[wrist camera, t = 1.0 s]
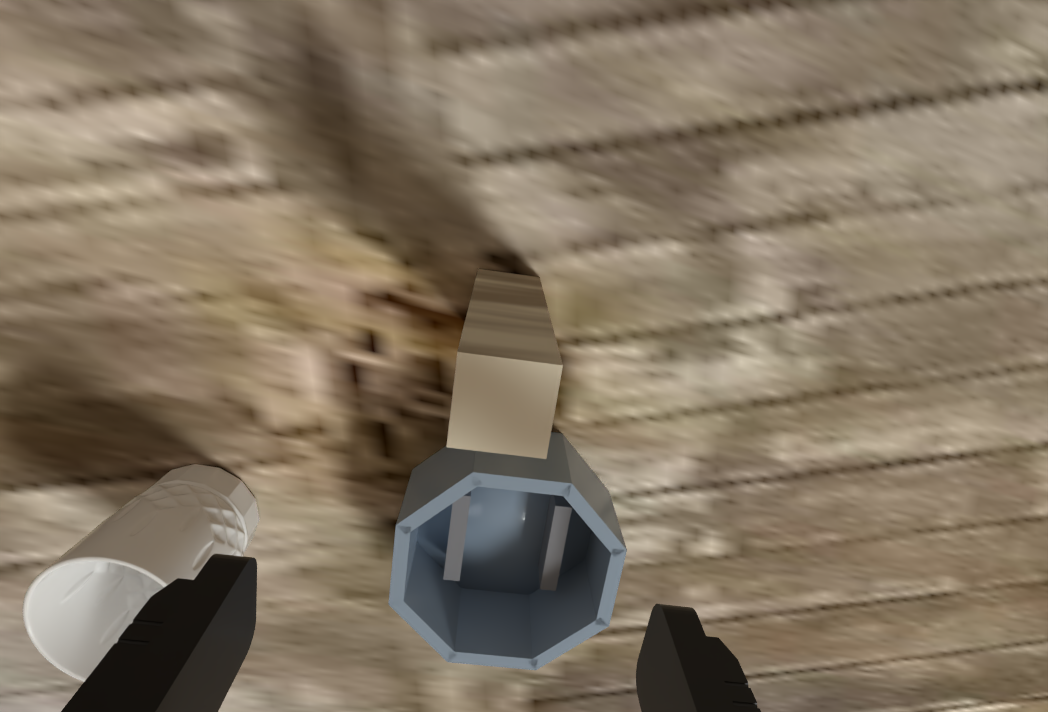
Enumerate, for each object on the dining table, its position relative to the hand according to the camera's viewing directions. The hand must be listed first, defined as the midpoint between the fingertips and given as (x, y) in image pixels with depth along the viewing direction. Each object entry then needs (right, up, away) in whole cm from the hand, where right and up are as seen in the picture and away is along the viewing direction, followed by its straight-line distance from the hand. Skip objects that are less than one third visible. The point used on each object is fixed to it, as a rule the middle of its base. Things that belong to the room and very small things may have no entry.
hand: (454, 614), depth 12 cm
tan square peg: (0, +8, +23) cm, 24 cm away
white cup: (-19, -5, +27) cm, 33 cm away
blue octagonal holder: (0, -5, +27) cm, 27 cm away
